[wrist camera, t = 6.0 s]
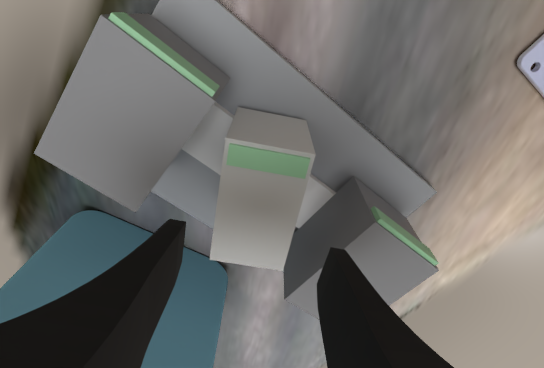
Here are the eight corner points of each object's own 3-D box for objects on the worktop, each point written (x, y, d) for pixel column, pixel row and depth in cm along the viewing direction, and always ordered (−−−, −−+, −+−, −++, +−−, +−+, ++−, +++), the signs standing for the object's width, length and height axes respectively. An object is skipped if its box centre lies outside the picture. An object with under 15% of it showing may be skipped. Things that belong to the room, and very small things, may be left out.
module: (306, 120, 19) (315, 155, 14) (281, 218, 22) (282, 272, 17) (237, 107, 18) (225, 139, 14) (222, 208, 22) (208, 261, 17)
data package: (69, 244, 25) (-79, 412, 15) (84, 202, 23) (-74, 359, 13) (208, 299, 28) (167, 474, 18) (231, 265, 26) (202, 438, 16)
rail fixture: (430, 185, 22) (484, 246, 17) (314, 283, 27) (324, 358, 21) (182, -31, 17) (132, -52, 11) (87, 141, 21) (15, 191, 15)
